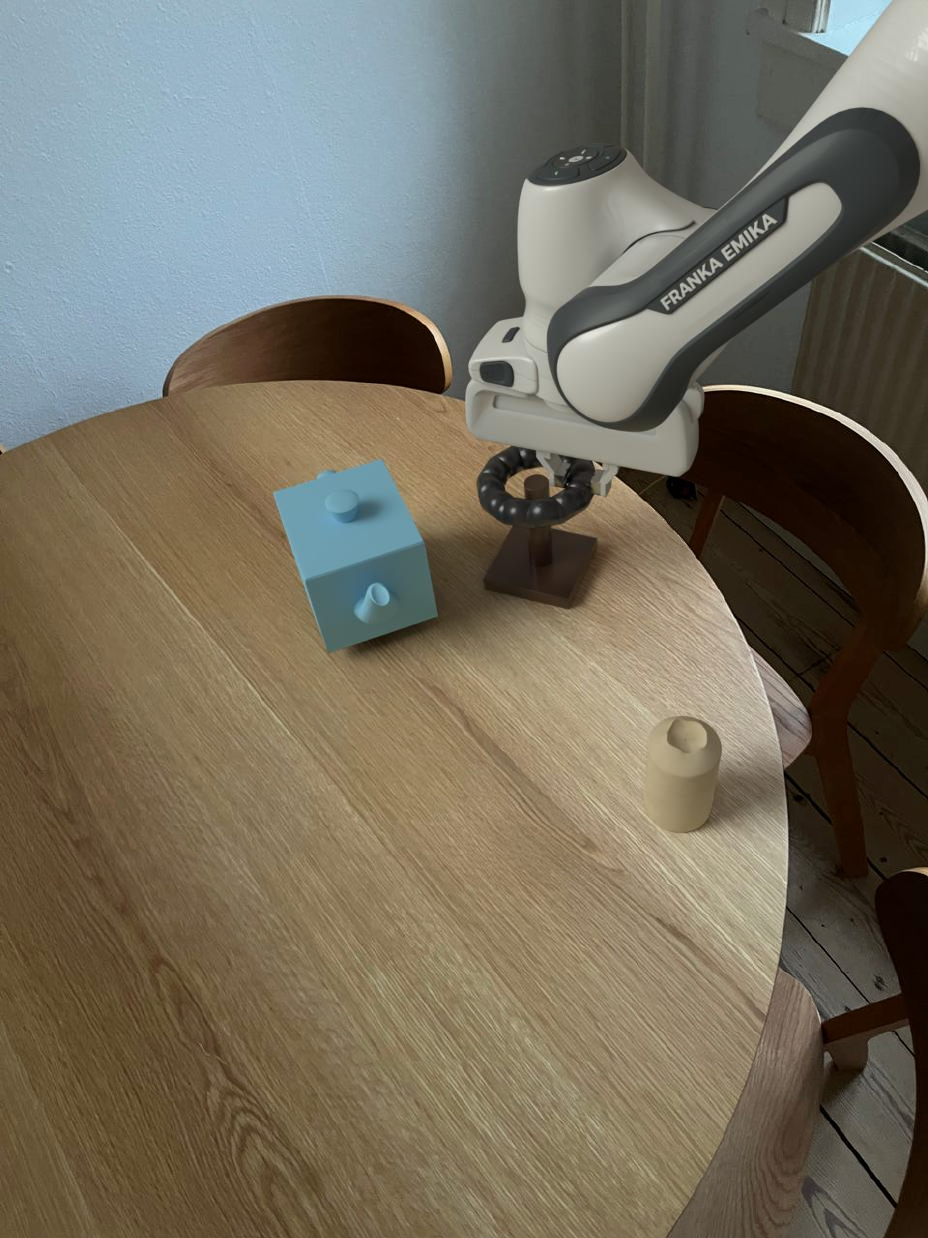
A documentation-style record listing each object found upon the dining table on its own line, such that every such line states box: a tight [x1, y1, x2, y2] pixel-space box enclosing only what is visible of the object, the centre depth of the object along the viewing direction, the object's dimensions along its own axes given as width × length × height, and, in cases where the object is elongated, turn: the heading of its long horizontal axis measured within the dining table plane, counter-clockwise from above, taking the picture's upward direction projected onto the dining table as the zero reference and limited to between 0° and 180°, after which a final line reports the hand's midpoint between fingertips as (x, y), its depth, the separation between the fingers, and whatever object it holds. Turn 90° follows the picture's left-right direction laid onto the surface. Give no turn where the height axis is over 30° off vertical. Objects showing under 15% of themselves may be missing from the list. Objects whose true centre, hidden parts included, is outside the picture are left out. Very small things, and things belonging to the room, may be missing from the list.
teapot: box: [272, 458, 439, 654], centre depth 92 cm, size 22×11×14 cm, turn 20°
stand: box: [482, 473, 598, 610], centre depth 94 cm, size 9×9×12 cm
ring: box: [475, 445, 596, 529], centre depth 90 cm, size 11×11×3 cm
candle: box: [643, 715, 723, 834], centre depth 76 cm, size 6×6×10 cm
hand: (580, 487), depth 88 cm, fingers closed on ring, 2 cm apart
